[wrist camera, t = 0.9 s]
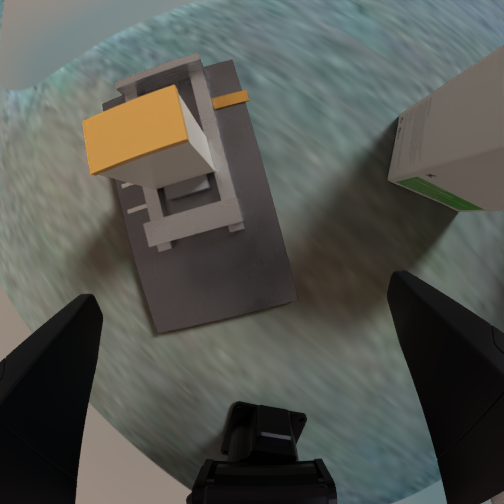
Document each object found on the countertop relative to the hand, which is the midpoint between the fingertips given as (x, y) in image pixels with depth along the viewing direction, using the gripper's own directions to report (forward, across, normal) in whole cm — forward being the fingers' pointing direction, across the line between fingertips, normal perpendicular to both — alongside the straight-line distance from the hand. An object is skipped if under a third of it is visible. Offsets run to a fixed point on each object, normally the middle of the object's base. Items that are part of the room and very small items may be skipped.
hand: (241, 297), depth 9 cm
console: (+15, +4, +3) cm, 16 cm away
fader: (+15, +4, +1) cm, 16 cm away
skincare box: (+16, -16, +1) cm, 23 cm away
